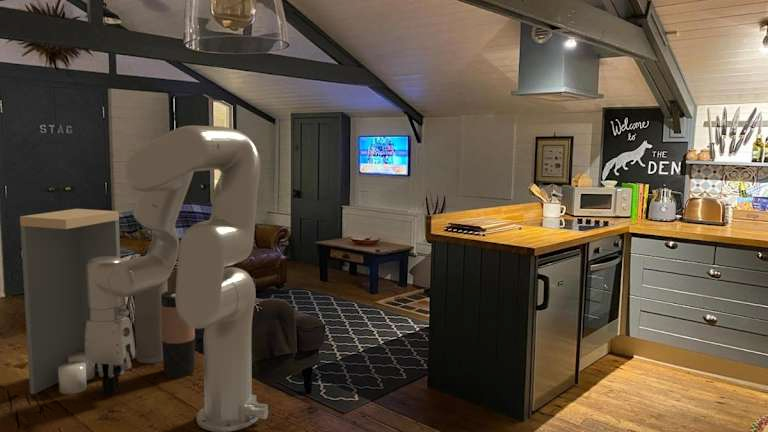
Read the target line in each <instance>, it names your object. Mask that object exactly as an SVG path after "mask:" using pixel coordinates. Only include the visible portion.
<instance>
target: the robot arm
mask: <svg viewBox="0 0 768 432" xmlns="http://www.w3.org/2000/svg"><path fill="white" fill-rule="evenodd" d="M261 169H262V168H261V157H260V154H259V151H258V149H257V147H256V145H255V143H254V142H253V141H252V140H251V139H250V138H249V137H248V135H246V134H245V133H243V132H241V131H240V130H237V129H235V128H232V127H225V126H219V125H218V126H217V125H210V126H209V125H184V126H180V127H178V128H177V127H176V128H175V129H173V130H169V132H167V133H164V134H163V135H161V136H160V137H158V138H155V139H153V140H151V141H149V142H148V143H146V144H143V145H142V146H141V147H138V148H136V150H134V151H133V152H132V153H131V154H130V156H128V159H127V161H126V163H125V167H124V176H125V180H126V182H127V184H129V186H130V187H131V188H132V189H134V190H135V191H138V192H140V193H139V195H138V198H137V200H136V203H135V207H134V209H133V218H134V220H135V221H136V222H137V223H138V224H140V225H141V226H143V227H145V228H146V229H149V230H151V231H152V232H151V233H152V237H151V241H150V244H149V247H148V250H147V254H146V256H142V257H140V256H139V257H135V258H134V257H133V258H132V259H128V260H123V259H122V258H121V257H120V258H119V257H115V256H103V257H96V258H93V259H90V260H89V261H88V262H87V264H86V277H87V297H88V319H87V322H86V329H85V357H86V359H87V360H88V364H89V365H91V366H93V367H95V368H96V369H97V370H98V371H99V372H98V376H99V378H100V377H101V383H102V394H103V395H106V396H107V395H108V396H110V395H112V394H114V393H116V392H118V390H119V389H120V388H119V385H120V384H119V382H120V381H119V375H118V374H120V373H121V371H123V370H124V371H127V370H130V369H132V367H133V365H132V361H131V360H134V359H136V343H135V337H134V336H135V335H134V332H133V326H132V322H131V320H130V317H129V314H130V310H129V309H127V307H126V305H127V304H126V298H129V297H132V296H135V295H136V294H139V293H142V292H144V291H147V290H150V289H153V288H156V287H159V286H161V285H162V284H164V283H165V282H166V281H167V282H168V279H169V278H170V276H171V274H172V273H173V270H174V267H175V264H176V262H177V266H176V279H175V280H176V281H175V292H176V293H175V301H176V309H177V312H178V315H179V317H180V318H181V320H182V321H183V322H184V323H185V324H186V325H188V326H190V327H192V328H195V329H198V330H199V329H204V331H203V341H202V342H203V347H202V348H203V389H204V390H203V391H204V392H203V394H204V396H203V399H204V406H203V408H201V409H200V410H199V411H198V412H197V414H196V423H197V425H198V426H199V427H200V428H202V429H203V430H207V431H210V432H236V431H240V430H242V429H246V428H248V427H250V426H252V425H253V424H255V423H256V422H257V421H258V420H259V419H262V420H263V419H264V420H266V419H267V418H268V416H269V406H268V404H265V403H259V402H258V401H257V395H256V394H253V393H252V391H253V388H252V387H253V384H252V383H253V381H252V379H253V378H252V374H253V372H252V369H253V368H252V342H253V341H252V337H253V336H252V330H253V329H252V328H253V326H252V325H253V316H254V315H253V314H254V310H255V305H256V304H255V303H256V295H257V294H256V286H255V282H254V279H253V278H252V277H251V275H250V274H249V272H247V271H246V270H244V269H242V268H239V267H230V266H232V265H235V264H237V263H240V262H241V263H242V262H243V261H244V260H246V259H247V258H248V257H250V255H251V253H252V251H253V247H254V239H255V229H256V220H257V216H256V215H257V204H258V203H257V202H258V192H259V184H260V177H261ZM214 170H218V171H220V175H219V178H218V180H217V182H216V184H215V187H214V189H213V194H212V202H211V203H212V204H211V212H210V217H209V219H207V220H203V221H199V222H196V223H194V224H192V225H191V226H190V227H188V228H187V230H186V231H185V232H184V234H183V235H182V237H181V239H180V240H179V234H178V233H179V232H178V230H177V227H176V223H177V219H178V217H179V214H180V211H181V209H182V206H183V204H184V201H185V198H186V195H187V192H188V189H189V188H190V184H191V182H192V179H193V175H194V173H195V172H202V171H203V172H205V171H214ZM127 316H128V317H127Z"/></svg>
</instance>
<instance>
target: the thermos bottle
mask: <svg viewBox="0 0 768 432" xmlns="http://www.w3.org/2000/svg"><path fill="white" fill-rule="evenodd" d="M147 252H148V251H147ZM147 252H142V253H140V254H139V257H142V256H146V254H147ZM168 290H169V289H168V280H167V281H166V282H165V283H164V284H162V285H161V286H159V287H156V288H153V289H150V290H147V291H144V292H142V293H139V294H136V295H134V315H135V319H134V320H135V354H136V361H137V362H138V363H141V364H156V363H163V348H162V307H161V295H162V293H164V292H166V291H168Z"/></svg>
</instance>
